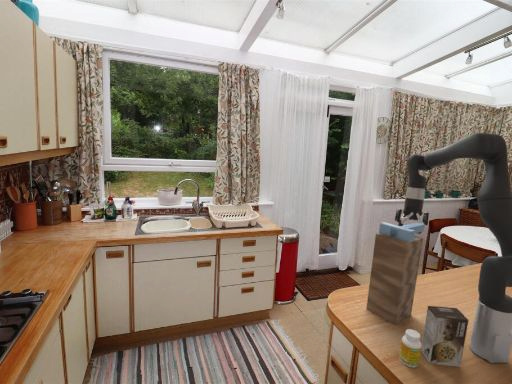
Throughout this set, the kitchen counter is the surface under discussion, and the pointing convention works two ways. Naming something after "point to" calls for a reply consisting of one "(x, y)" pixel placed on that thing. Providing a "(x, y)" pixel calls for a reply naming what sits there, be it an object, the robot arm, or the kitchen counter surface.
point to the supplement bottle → (410, 348)
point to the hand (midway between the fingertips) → (409, 232)
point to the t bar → (401, 230)
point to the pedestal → (393, 277)
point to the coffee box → (444, 336)
